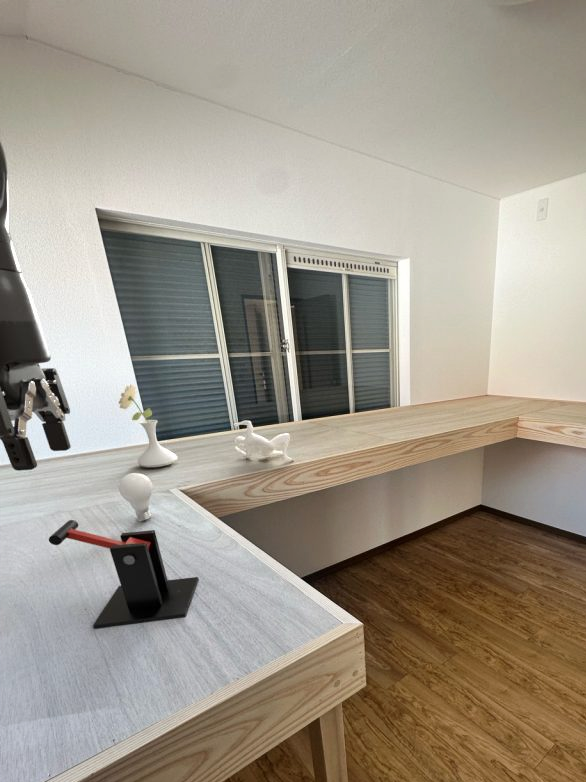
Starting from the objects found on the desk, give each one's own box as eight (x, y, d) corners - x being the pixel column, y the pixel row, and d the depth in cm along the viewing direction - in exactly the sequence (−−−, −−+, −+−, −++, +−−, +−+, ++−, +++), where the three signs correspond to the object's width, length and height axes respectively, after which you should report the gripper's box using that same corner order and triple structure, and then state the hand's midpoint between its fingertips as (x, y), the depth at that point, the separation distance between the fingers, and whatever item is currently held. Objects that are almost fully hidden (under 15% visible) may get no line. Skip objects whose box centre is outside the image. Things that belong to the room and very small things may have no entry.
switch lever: (47, 546, 54) (50, 531, 54) (65, 530, 59) (68, 515, 58) (139, 568, 58) (143, 554, 58) (149, 551, 63) (153, 537, 62)
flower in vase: (159, 458, 138) (140, 380, 128) (186, 461, 135) (169, 381, 124) (125, 470, 127) (101, 385, 117) (153, 473, 123) (132, 386, 113)
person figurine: (290, 421, 139) (233, 416, 131) (298, 437, 129) (237, 433, 122) (285, 456, 146) (231, 453, 138) (292, 473, 136) (235, 472, 128)
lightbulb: (138, 528, 89) (125, 480, 85) (122, 522, 92) (109, 475, 88) (166, 518, 94) (155, 472, 89) (150, 512, 97) (138, 467, 93)
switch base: (95, 634, 58) (69, 561, 53) (121, 593, 67) (100, 528, 62) (186, 622, 60) (169, 551, 56) (199, 584, 69) (185, 520, 65)
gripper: (-3, 319, 52) (41, 446, 58) (-97, 316, 39) (-28, 479, 45) (65, 319, 53) (100, 443, 60) (-5, 316, 40) (49, 474, 47)
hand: (45, 459), depth 53 cm, fingers open, 8 cm apart
